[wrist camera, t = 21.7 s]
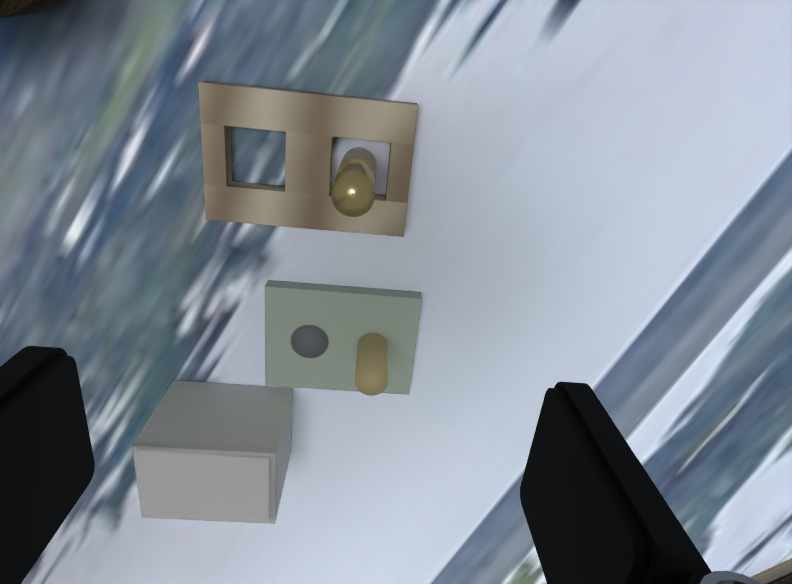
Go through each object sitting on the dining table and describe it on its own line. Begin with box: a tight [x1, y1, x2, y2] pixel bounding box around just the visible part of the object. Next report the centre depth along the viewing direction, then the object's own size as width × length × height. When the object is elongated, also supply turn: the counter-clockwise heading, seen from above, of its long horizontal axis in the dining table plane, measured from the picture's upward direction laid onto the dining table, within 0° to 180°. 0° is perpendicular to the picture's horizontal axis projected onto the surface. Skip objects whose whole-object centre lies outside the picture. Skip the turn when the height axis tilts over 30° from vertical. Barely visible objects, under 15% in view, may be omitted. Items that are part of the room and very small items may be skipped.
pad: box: [265, 280, 422, 395], centre depth 39 cm, size 12×9×6 cm
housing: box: [132, 380, 293, 524], centre depth 41 cm, size 10×7×8 cm
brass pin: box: [331, 148, 376, 217], centre depth 32 cm, size 2×2×9 cm
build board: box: [198, 81, 418, 237], centre depth 35 cm, size 14×9×2 cm, turn 84°
